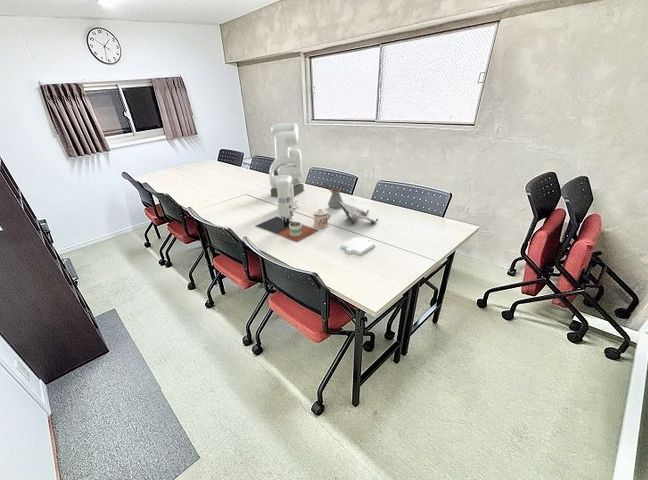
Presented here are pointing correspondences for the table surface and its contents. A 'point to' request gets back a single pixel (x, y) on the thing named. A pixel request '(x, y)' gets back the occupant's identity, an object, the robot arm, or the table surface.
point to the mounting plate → (357, 245)
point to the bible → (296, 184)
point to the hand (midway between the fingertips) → (286, 226)
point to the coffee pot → (334, 198)
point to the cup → (295, 229)
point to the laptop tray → (354, 212)
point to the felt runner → (285, 229)
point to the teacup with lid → (320, 218)
